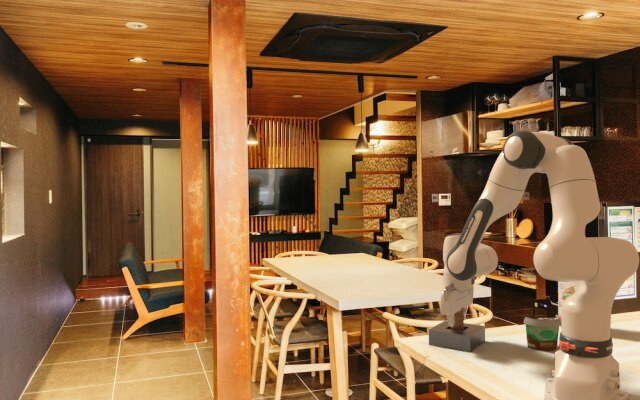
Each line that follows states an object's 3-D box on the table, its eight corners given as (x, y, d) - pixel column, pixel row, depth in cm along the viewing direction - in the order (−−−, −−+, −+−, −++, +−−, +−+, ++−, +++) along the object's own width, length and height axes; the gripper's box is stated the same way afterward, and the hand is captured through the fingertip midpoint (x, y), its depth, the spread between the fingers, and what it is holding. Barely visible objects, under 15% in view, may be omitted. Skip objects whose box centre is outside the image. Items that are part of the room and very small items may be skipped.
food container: (535, 353, 163) (535, 321, 163) (523, 347, 169) (523, 316, 169) (570, 350, 166) (570, 319, 165) (557, 344, 172) (557, 314, 171)
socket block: (470, 352, 166) (470, 336, 165) (428, 344, 174) (428, 329, 174) (485, 340, 177) (485, 326, 177) (445, 334, 185) (445, 320, 185)
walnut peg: (461, 345, 173) (460, 308, 172) (449, 343, 175) (449, 307, 175) (465, 342, 176) (465, 306, 176) (453, 340, 178) (453, 305, 178)
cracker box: (557, 325, 195) (557, 268, 194) (570, 323, 197) (570, 267, 196) (587, 335, 182) (587, 274, 181) (600, 333, 184) (600, 273, 183)
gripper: (454, 288, 164) (454, 331, 165) (476, 278, 181) (477, 317, 181) (435, 285, 168) (435, 328, 169) (459, 276, 185) (459, 315, 185)
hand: (457, 323), depth 175 cm, fingers open, 8 cm apart
